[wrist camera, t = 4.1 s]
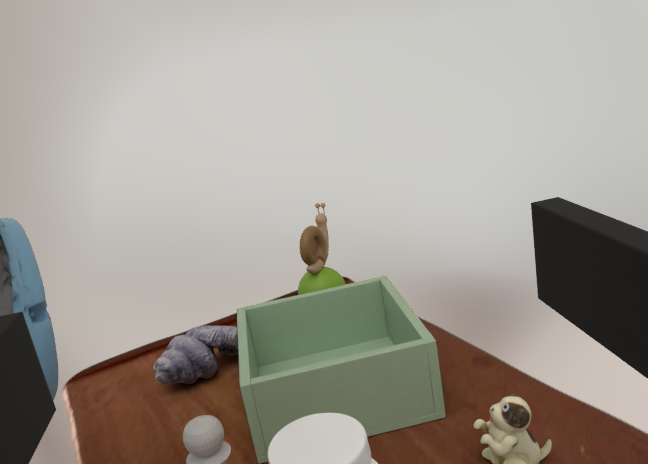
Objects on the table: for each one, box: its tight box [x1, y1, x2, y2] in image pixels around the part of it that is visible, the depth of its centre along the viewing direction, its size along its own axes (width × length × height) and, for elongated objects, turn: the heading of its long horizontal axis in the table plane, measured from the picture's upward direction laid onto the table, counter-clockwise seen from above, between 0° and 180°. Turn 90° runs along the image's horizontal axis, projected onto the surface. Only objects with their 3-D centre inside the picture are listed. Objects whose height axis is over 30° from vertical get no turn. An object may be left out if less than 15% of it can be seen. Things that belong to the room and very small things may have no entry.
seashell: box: [153, 325, 239, 384], centre depth 58 cm, size 5×5×10 cm
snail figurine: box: [298, 203, 346, 295], centre depth 67 cm, size 5×6×12 cm
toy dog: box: [474, 393, 552, 464], centre depth 39 cm, size 4×5×5 cm
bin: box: [237, 276, 446, 464], centre depth 51 cm, size 15×15×7 cm
